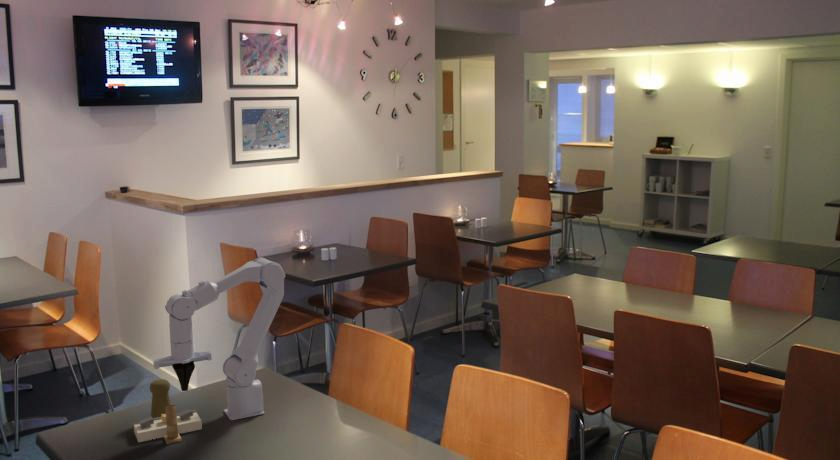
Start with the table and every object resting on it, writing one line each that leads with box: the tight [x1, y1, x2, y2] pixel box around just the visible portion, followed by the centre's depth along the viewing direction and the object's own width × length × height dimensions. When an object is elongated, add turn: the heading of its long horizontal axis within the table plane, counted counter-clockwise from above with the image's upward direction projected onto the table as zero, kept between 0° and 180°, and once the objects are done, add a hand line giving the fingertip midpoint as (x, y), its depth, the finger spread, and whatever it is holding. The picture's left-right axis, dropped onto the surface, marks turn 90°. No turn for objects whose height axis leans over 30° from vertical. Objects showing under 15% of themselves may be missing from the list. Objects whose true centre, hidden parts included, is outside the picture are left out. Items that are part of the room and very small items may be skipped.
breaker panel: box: [133, 409, 203, 443], centre depth 194 cm, size 16×7×3 cm, turn 119°
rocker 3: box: [178, 408, 193, 420], centre depth 196 cm, size 3×2×1 cm
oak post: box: [163, 404, 182, 445], centre depth 188 cm, size 4×4×9 cm
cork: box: [149, 378, 172, 418], centre depth 201 cm, size 6×6×11 cm
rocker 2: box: [161, 414, 166, 422], centre depth 194 cm, size 3×2×1 cm
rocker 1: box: [138, 415, 154, 428], centre depth 191 cm, size 3×2×1 cm
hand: (184, 389), depth 195 cm, fingers closed
